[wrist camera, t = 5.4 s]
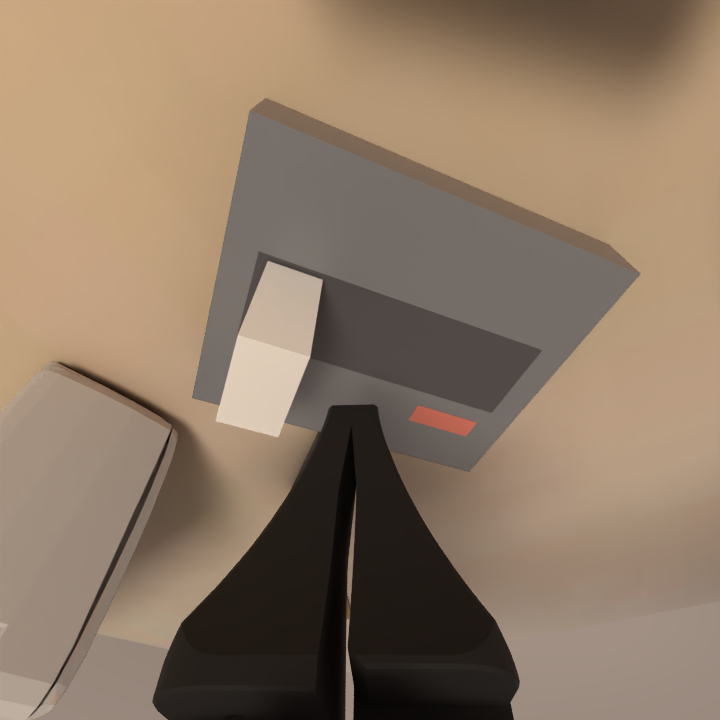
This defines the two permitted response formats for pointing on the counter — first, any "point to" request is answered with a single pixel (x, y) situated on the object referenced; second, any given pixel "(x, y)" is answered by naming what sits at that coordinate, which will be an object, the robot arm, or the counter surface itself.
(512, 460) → the counter surface
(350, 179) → the box
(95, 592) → the stereo radio cassette player
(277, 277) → the breaker toggle
